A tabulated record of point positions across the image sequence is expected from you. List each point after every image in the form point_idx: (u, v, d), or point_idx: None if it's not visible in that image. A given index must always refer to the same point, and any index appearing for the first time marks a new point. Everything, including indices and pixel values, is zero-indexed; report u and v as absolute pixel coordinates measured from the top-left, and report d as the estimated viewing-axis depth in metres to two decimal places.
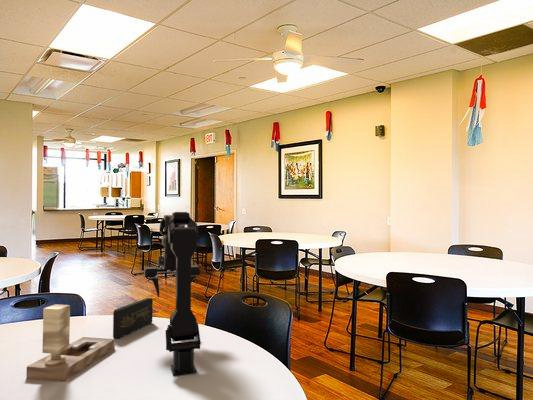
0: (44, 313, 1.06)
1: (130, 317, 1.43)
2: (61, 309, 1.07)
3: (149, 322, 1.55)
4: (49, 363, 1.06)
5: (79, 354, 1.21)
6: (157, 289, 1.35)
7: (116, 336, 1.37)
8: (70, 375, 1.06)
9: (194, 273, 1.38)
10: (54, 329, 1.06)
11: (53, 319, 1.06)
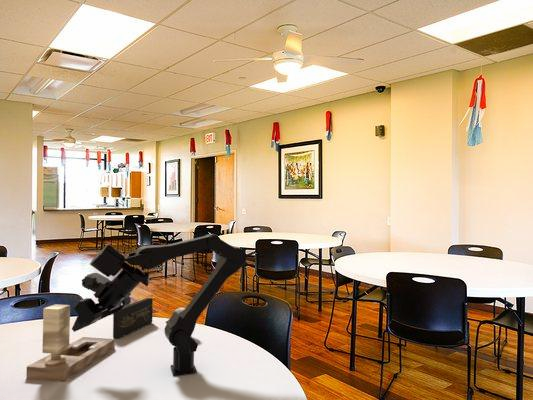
0: (44, 313, 1.06)
1: (130, 317, 1.43)
2: (61, 309, 1.07)
3: (149, 322, 1.55)
4: (49, 363, 1.06)
5: (79, 354, 1.21)
6: (83, 327, 1.02)
7: (116, 336, 1.37)
8: (70, 375, 1.06)
9: (124, 307, 1.13)
10: (54, 329, 1.06)
11: (53, 319, 1.06)
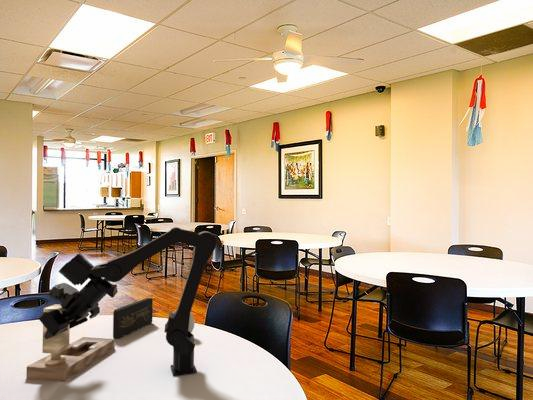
0: None
1: (130, 317, 1.43)
2: (61, 309, 1.07)
3: (149, 322, 1.55)
4: (49, 363, 1.06)
5: (79, 354, 1.21)
6: (54, 335, 1.05)
7: (116, 336, 1.37)
8: (70, 375, 1.06)
9: (93, 316, 1.14)
10: None
11: None
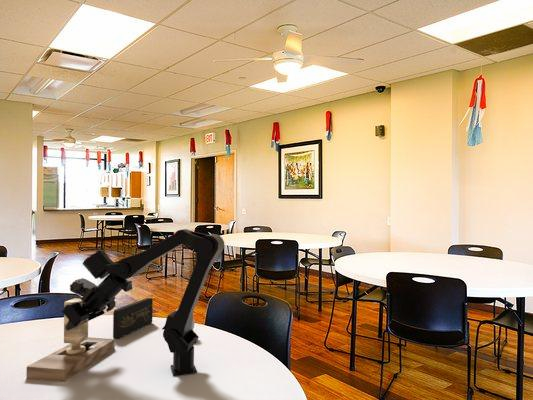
0: None
1: (130, 317, 1.43)
2: (81, 302, 1.15)
3: (149, 322, 1.55)
4: (70, 352, 1.14)
5: (79, 354, 1.21)
6: None
7: (116, 336, 1.37)
8: (70, 375, 1.06)
9: (110, 309, 1.23)
10: None
11: None
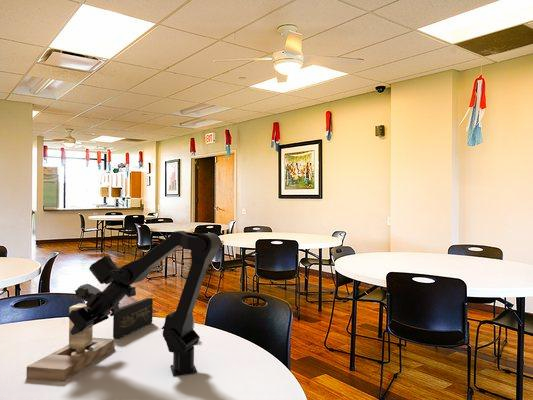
0: (70, 311, 1.17)
1: (130, 317, 1.43)
2: (85, 308, 1.18)
3: (149, 322, 1.55)
4: None
5: None
6: (80, 331, 1.16)
7: (116, 336, 1.37)
8: (70, 375, 1.06)
9: (113, 314, 1.25)
10: None
11: None
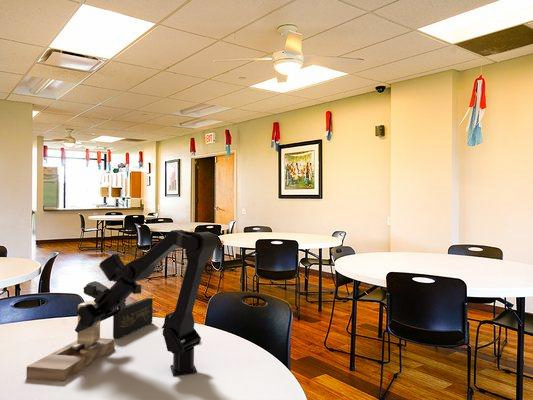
0: None
1: (130, 317, 1.43)
2: (93, 305, 1.22)
3: (149, 322, 1.55)
4: (83, 353, 1.20)
5: (79, 354, 1.21)
6: None
7: (116, 336, 1.37)
8: (70, 375, 1.06)
9: (120, 311, 1.29)
10: None
11: None
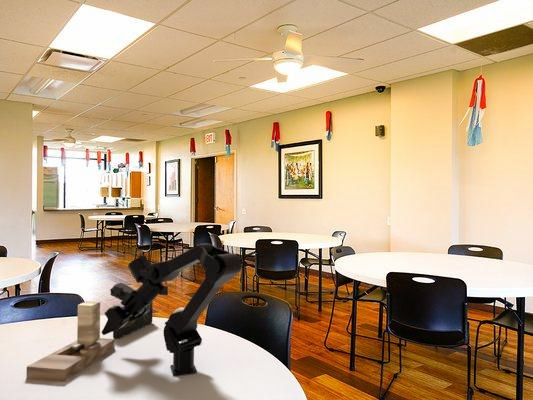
0: (78, 309, 1.21)
1: None
2: (93, 305, 1.21)
3: (149, 322, 1.55)
4: (83, 353, 1.20)
5: (79, 354, 1.21)
6: (111, 331, 1.16)
7: (116, 336, 1.37)
8: (70, 375, 1.06)
9: (145, 313, 1.28)
10: (88, 323, 1.20)
11: (86, 314, 1.21)
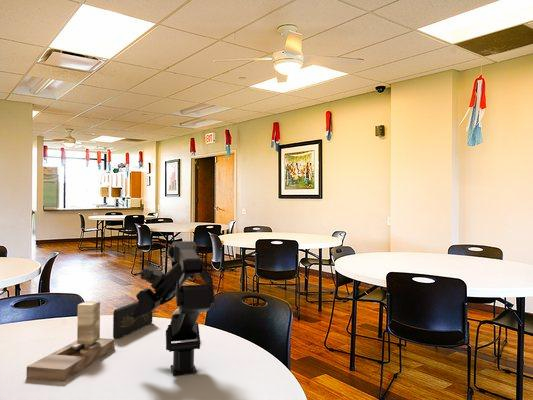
0: (78, 309, 1.21)
1: (130, 317, 1.43)
2: (93, 305, 1.22)
3: (149, 322, 1.55)
4: (83, 352, 1.20)
5: (79, 354, 1.21)
6: None
7: (116, 336, 1.37)
8: (70, 375, 1.06)
9: (174, 297, 1.26)
10: (88, 323, 1.21)
11: (86, 314, 1.21)
